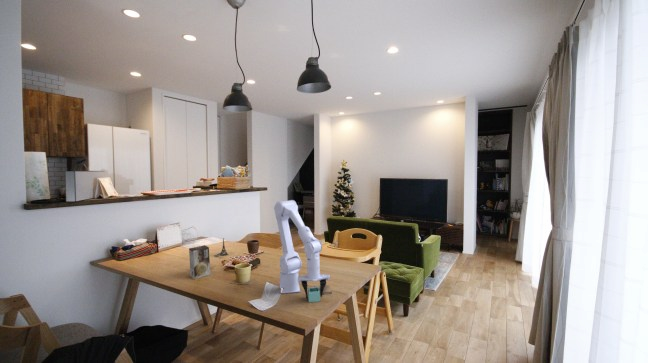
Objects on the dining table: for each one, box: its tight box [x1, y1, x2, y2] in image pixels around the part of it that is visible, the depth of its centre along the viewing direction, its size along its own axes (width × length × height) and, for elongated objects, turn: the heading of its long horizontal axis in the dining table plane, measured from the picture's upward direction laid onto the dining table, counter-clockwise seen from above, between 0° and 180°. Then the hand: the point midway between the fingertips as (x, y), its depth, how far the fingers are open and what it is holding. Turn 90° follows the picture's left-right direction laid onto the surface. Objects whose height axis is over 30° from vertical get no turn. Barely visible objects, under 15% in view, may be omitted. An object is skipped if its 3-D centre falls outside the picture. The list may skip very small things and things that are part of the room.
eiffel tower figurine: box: [213, 237, 229, 258], centre depth 203 cm, size 15×10×13 cm
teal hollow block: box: [307, 286, 321, 303], centre depth 131 cm, size 5×5×4 cm
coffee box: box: [188, 244, 211, 280], centre depth 163 cm, size 9×6×16 cm
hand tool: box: [246, 257, 261, 266], centre depth 174 cm, size 19×4×5 cm, turn 151°
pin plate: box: [313, 284, 333, 295], centre depth 140 cm, size 8×8×4 cm
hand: (313, 296), depth 131 cm, fingers open, 6 cm apart
